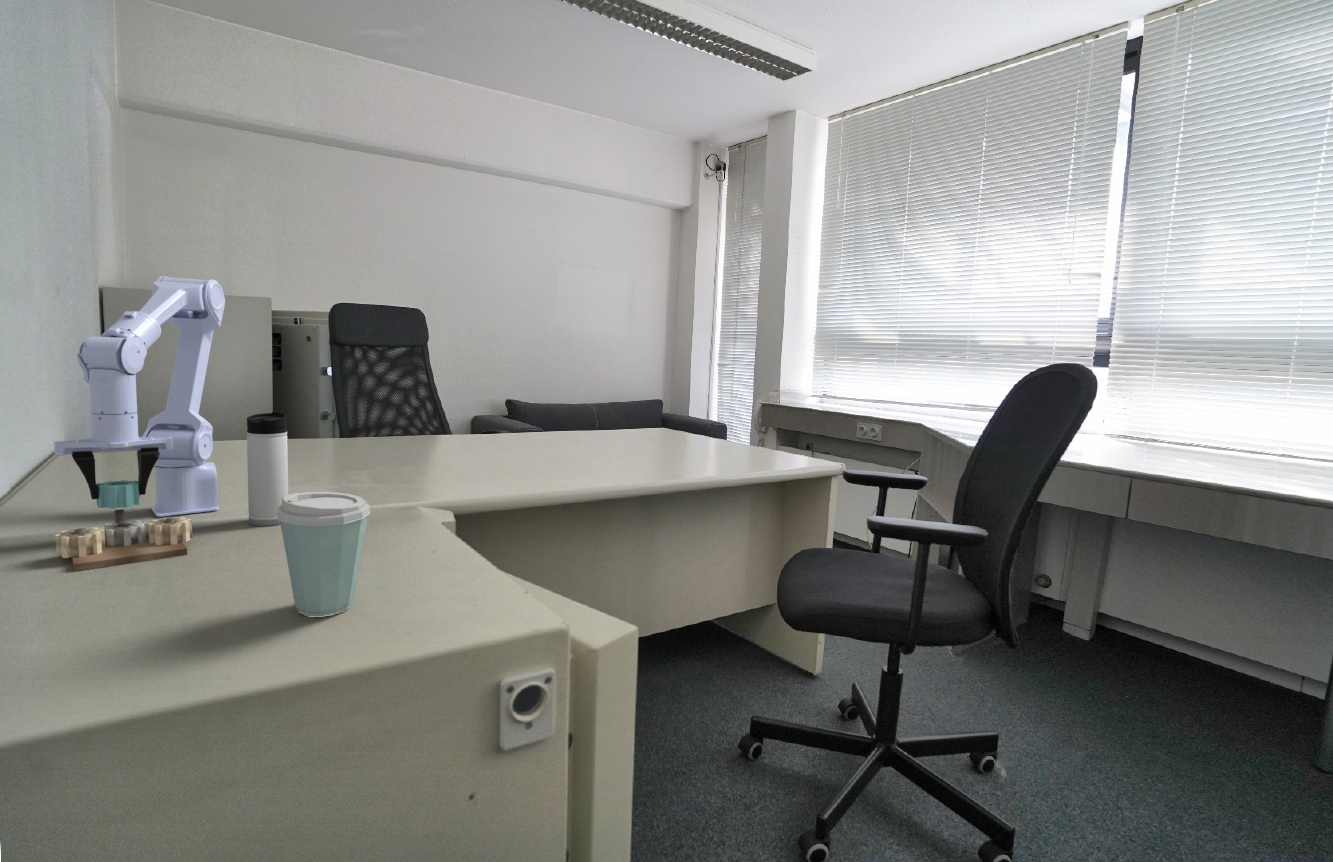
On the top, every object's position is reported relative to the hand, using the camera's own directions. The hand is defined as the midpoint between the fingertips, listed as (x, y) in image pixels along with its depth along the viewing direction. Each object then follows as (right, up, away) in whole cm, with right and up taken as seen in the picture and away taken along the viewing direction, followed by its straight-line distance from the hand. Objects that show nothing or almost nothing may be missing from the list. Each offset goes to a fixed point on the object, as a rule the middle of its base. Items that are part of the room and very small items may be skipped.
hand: (118, 495), depth 107 cm
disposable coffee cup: (+45, -13, -22) cm, 51 cm away
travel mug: (+16, -6, +14) cm, 22 cm away
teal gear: (0, -1, 0) cm, 2 cm away
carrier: (+4, -8, -3) cm, 9 cm away
